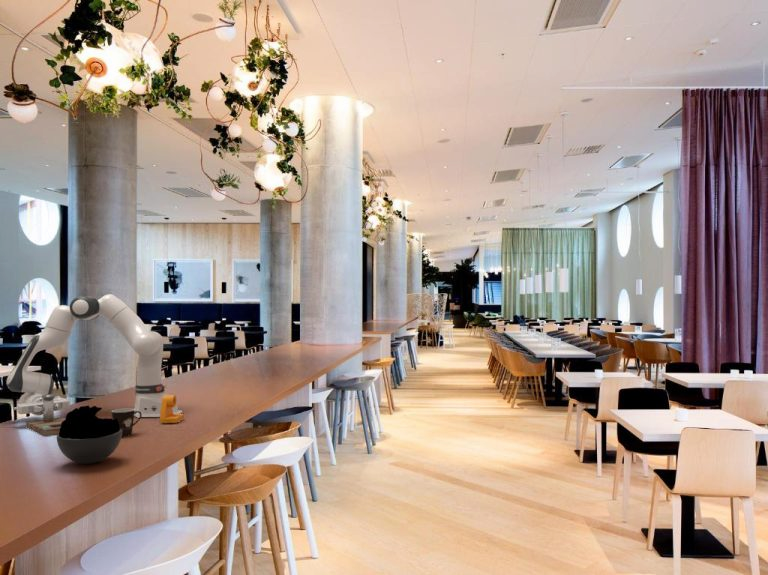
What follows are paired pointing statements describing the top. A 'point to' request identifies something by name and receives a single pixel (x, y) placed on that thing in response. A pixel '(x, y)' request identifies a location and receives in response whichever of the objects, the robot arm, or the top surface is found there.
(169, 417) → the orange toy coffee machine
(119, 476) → the top surface
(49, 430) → the hole board
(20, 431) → the top surface
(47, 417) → the glass spice jar
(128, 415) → the coffee mug
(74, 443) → the bowl of black rocks
